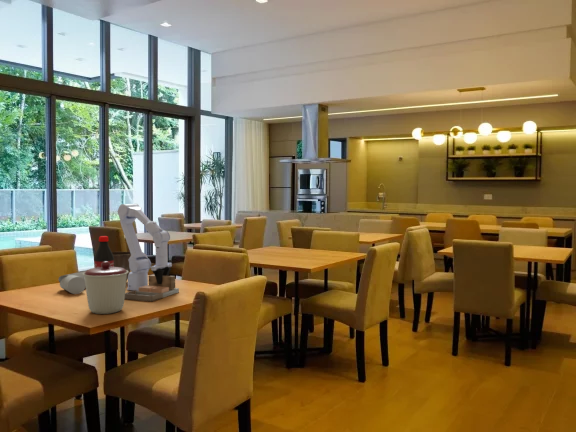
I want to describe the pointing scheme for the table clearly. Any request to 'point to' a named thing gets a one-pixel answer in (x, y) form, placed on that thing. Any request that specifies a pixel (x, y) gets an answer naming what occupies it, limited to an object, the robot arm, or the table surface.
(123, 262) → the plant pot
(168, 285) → the brown wooden block
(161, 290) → the tile right
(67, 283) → the bent grey cylinder
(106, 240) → the cola bottle
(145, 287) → the tile left
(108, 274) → the canister
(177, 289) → the slate board
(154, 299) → the tray
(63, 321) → the table surface
